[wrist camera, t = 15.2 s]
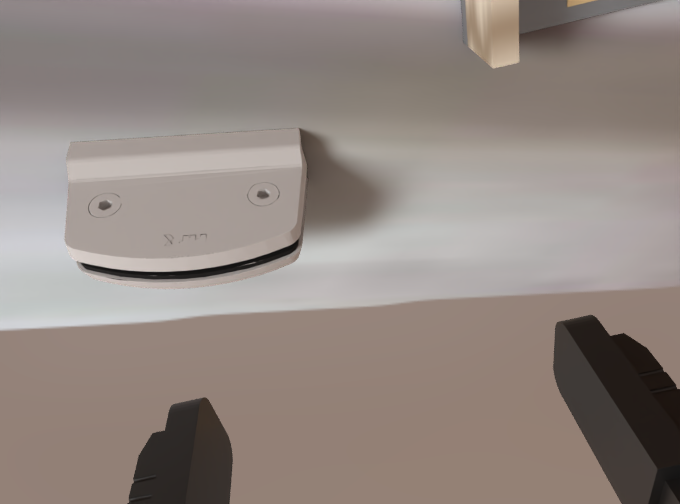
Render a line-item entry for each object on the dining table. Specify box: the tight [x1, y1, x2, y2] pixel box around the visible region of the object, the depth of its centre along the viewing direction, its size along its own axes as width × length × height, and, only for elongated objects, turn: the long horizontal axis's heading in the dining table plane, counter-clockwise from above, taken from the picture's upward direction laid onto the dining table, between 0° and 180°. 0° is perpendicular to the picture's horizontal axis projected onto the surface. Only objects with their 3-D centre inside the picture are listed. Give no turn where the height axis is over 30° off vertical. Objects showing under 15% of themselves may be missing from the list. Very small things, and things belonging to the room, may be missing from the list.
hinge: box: [64, 128, 308, 289], centre depth 36 cm, size 17×5×10 cm, turn 92°
